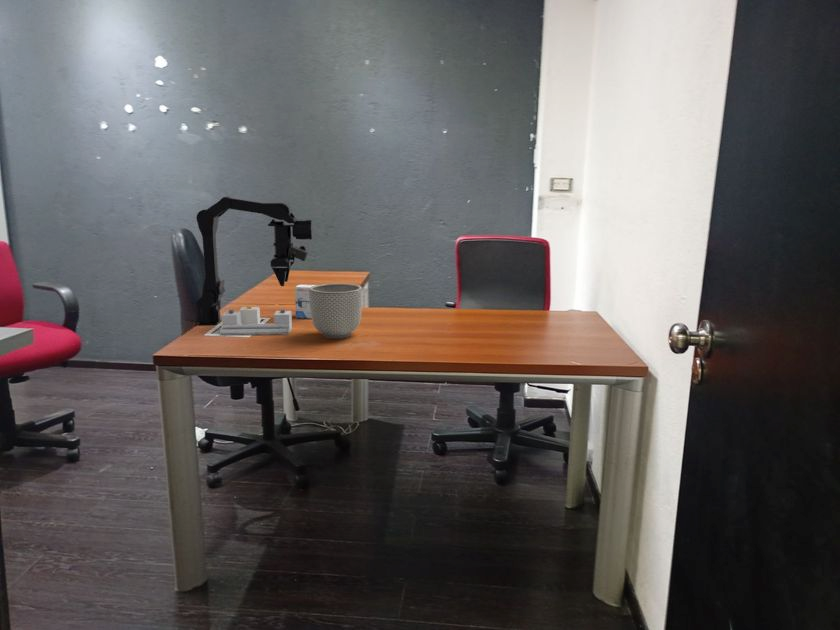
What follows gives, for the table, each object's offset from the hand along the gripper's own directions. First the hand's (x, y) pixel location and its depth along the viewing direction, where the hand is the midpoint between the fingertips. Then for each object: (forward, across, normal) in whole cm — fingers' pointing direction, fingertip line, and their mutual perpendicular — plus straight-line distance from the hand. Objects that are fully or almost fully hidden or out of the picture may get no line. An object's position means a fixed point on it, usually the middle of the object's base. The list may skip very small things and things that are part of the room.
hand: (284, 283), depth 217 cm
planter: (+14, -20, -19) cm, 31 cm away
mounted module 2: (+14, -11, -1) cm, 18 cm away
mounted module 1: (+14, -11, +16) cm, 24 cm away
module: (+14, -3, +12) cm, 19 cm away
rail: (+14, -16, +8) cm, 22 cm away
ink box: (+14, +8, -7) cm, 18 cm away
